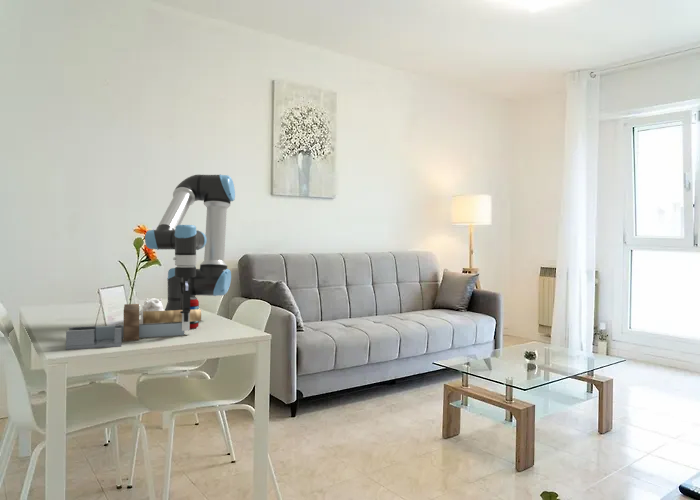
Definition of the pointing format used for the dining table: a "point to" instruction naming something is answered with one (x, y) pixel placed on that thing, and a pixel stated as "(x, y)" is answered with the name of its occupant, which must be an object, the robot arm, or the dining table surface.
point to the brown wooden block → (131, 322)
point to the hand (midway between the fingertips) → (185, 329)
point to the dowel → (169, 316)
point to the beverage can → (193, 305)
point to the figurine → (151, 307)
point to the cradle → (90, 338)
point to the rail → (143, 330)
